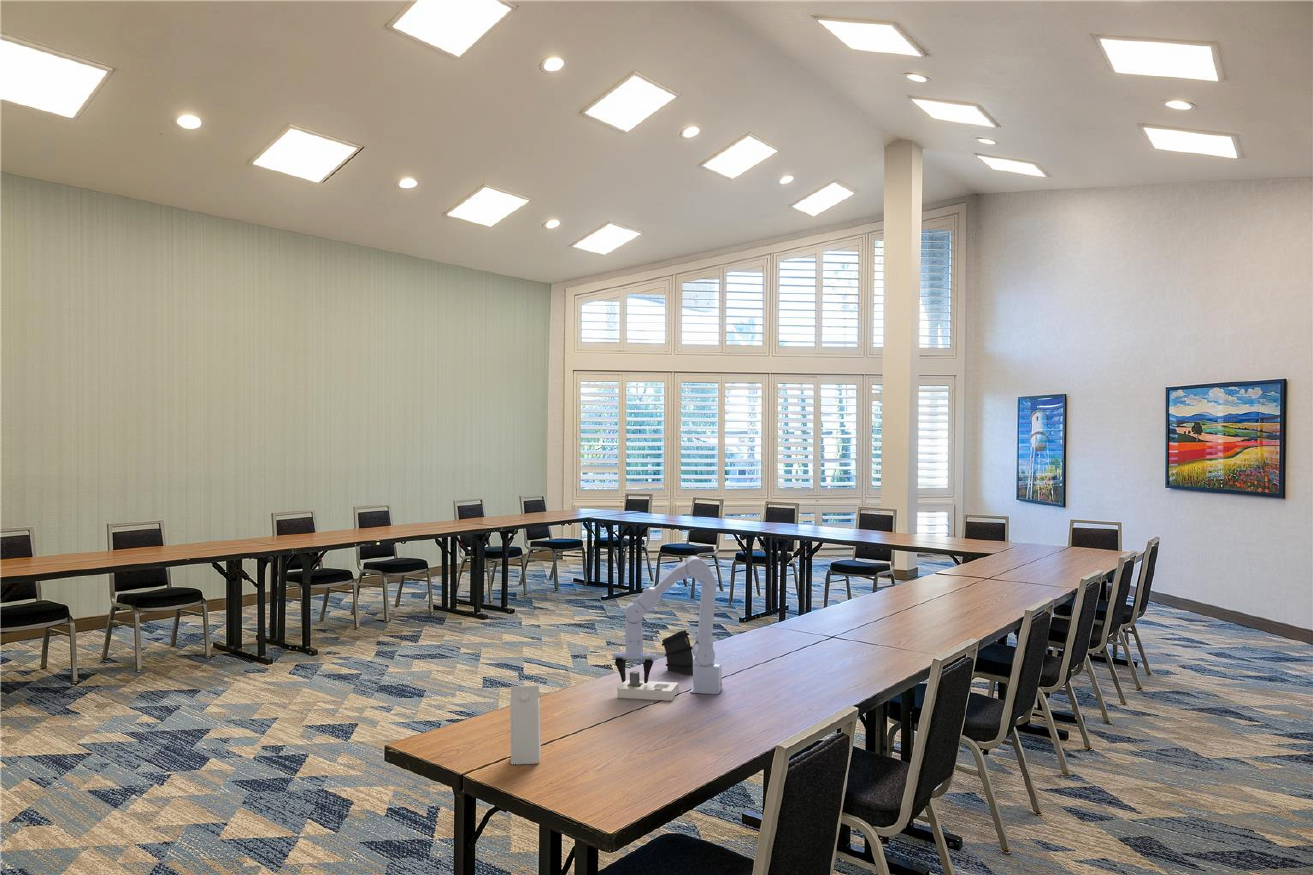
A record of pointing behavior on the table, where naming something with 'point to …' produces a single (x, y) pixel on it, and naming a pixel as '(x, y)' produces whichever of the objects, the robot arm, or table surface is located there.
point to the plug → (634, 679)
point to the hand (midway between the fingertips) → (634, 681)
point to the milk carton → (525, 725)
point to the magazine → (679, 653)
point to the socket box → (648, 690)
